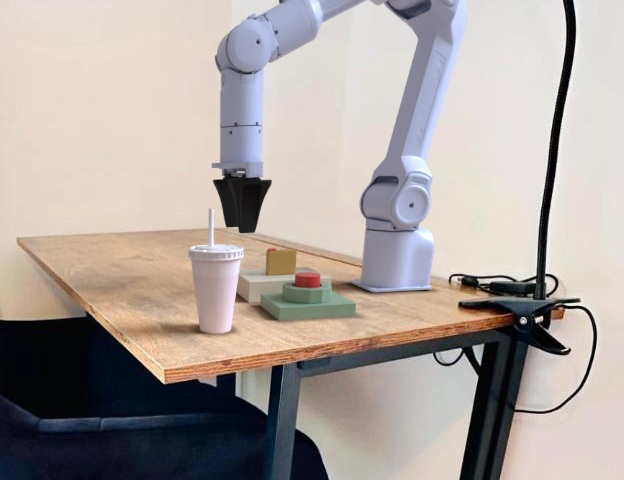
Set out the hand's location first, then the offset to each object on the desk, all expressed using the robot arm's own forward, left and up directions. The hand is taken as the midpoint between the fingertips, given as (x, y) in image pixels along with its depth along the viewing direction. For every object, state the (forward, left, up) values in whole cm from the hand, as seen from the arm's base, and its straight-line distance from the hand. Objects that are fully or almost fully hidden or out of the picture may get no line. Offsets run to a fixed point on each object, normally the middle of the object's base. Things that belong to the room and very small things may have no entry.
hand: (239, 229), depth 79 cm
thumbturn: (-6, 0, -7) cm, 9 cm away
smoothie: (+7, +17, -10) cm, 21 cm away
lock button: (-6, +11, -7) cm, 14 cm away
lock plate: (-6, 0, -10) cm, 12 cm away
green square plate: (-6, +11, -10) cm, 16 cm away
